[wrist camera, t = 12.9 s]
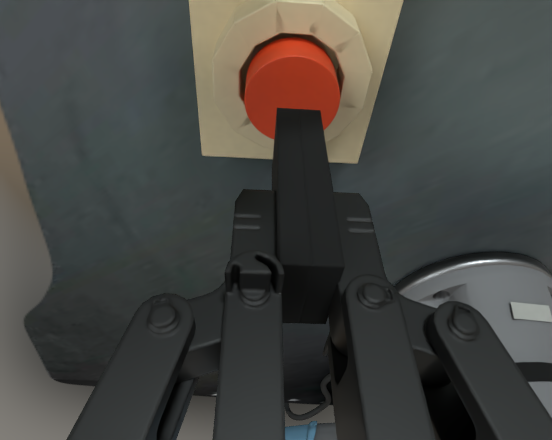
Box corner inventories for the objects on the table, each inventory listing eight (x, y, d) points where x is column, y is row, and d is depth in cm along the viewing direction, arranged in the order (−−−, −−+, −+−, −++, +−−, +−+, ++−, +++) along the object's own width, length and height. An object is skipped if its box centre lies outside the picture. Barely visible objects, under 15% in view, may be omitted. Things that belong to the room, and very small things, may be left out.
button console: (352, 141, 24) (362, 184, 21) (206, 133, 24) (197, 176, 21) (408, -78, 16) (436, -54, 13) (189, -97, 16) (172, -76, 13)
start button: (327, 123, 19) (331, 145, 18) (245, 118, 19) (243, 140, 18) (343, 40, 16) (349, 59, 15) (246, 33, 16) (244, 52, 15)
